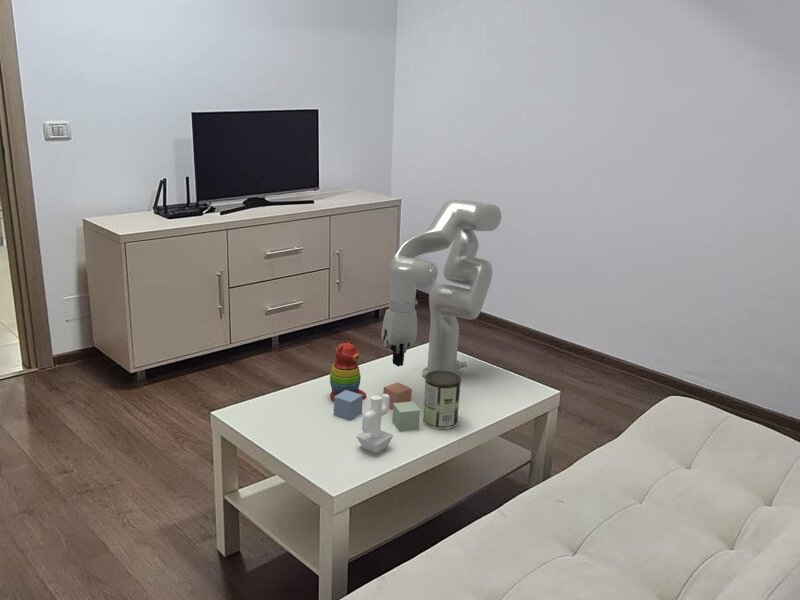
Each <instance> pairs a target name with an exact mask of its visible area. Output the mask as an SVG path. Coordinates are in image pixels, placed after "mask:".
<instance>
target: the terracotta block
mask: <svg viewBox="0 0 800 600" xmlns="http://www.w3.org/2000/svg"><path fill="white" fill-rule="evenodd" d="M412 390H413V389H412V388H411V387H409V386H407V385H405V384H404V383H403V384H402V383H401V382H399V381H397V382H394V383H391V384H388V385H385V386H383V394H387V395H389V397H390V402H389V410H392V411H393V403H401V402H411V401H412ZM383 394H382V395H383Z"/></svg>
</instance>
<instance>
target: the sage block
mask: <svg viewBox="0 0 800 600" xmlns="http://www.w3.org/2000/svg"><path fill="white" fill-rule="evenodd" d="M420 414H421V410H420V408H419V407H418V406H417V404H416V403H415V402H414V401H412V400H411V402H401V403H393V410H392V424H393V425H394V426H395V428H396V429H397V431H398V432H405V431H413V430H419V429H420V419H421V418H420V417H421V415H420Z"/></svg>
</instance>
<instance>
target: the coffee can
mask: <svg viewBox="0 0 800 600" xmlns="http://www.w3.org/2000/svg"><path fill="white" fill-rule="evenodd" d="M424 379H425V381H424V382H425V383H424V399H423V401H424V402H423V416H422V417H423V418H422V422H423V424H424V425H425V426H426V427H429V428H431V429H436V430H450V429H453V428H455V427H456V426H458V423H459V422H458V418H459V417H458V416H459V404H460V395H461V394H460V392H461V382H462V377H461V375H460V376H459V375H458V374H456V373H453V372H449V371H432V372H429V373H427V374H426V376H425V377H424Z"/></svg>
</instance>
